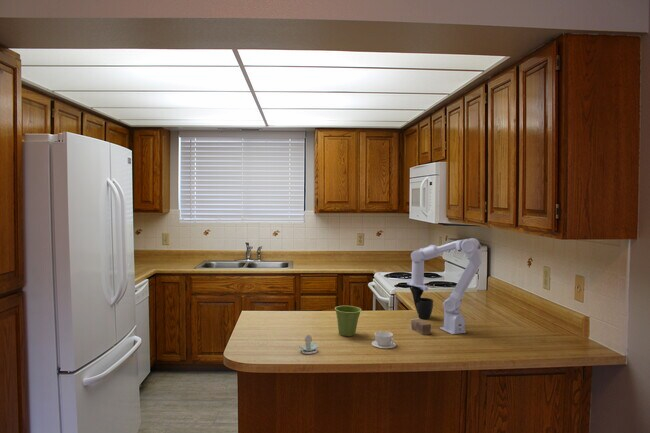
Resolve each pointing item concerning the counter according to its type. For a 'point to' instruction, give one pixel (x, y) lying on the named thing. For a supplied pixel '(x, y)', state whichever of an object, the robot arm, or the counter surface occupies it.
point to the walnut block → (420, 326)
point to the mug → (424, 308)
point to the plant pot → (347, 319)
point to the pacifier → (309, 346)
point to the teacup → (383, 340)
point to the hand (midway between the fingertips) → (416, 302)
